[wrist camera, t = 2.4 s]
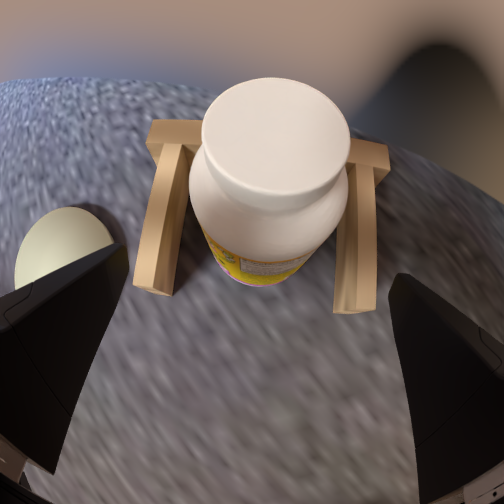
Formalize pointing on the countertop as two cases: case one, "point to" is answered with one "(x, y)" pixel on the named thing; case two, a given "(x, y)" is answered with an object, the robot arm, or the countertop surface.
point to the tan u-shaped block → (176, 197)
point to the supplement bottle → (269, 177)
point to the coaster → (59, 243)
